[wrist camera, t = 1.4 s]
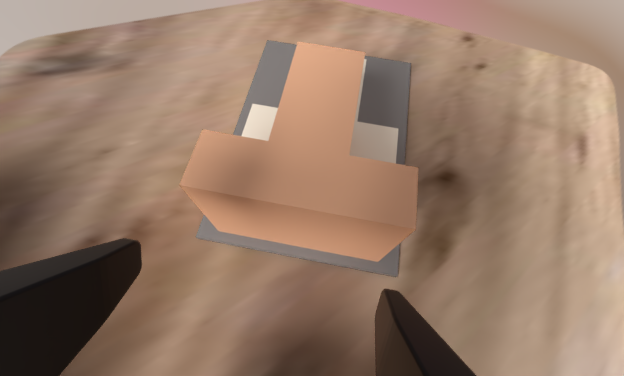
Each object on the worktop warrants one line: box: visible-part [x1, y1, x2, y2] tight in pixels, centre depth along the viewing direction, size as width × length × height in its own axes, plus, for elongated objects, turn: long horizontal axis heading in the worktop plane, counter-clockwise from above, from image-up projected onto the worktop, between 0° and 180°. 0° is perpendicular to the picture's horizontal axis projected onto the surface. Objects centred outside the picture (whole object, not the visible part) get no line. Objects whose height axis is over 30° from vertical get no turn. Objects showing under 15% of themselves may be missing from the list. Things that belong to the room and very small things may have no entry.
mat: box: [196, 40, 411, 277], centre depth 27 cm, size 22×15×1 cm
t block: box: [179, 42, 418, 262], centre depth 21 cm, size 12×12×8 cm
